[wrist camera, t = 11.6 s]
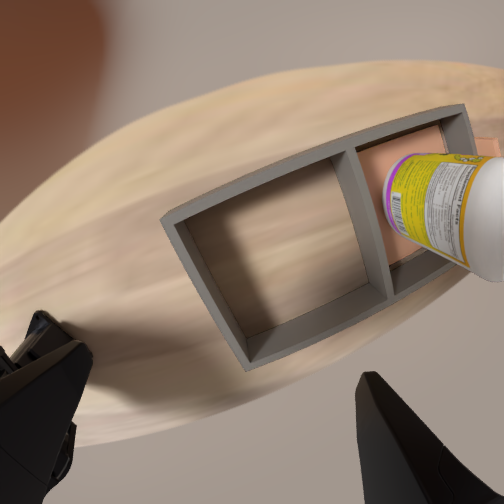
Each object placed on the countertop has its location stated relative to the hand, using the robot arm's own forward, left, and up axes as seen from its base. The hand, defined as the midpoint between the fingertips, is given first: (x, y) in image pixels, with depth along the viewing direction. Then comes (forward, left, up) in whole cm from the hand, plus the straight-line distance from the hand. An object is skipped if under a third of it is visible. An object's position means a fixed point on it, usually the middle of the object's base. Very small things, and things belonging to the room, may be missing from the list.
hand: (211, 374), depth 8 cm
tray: (+8, -6, -12) cm, 16 cm away
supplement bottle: (+13, -8, -12) cm, 19 cm away
